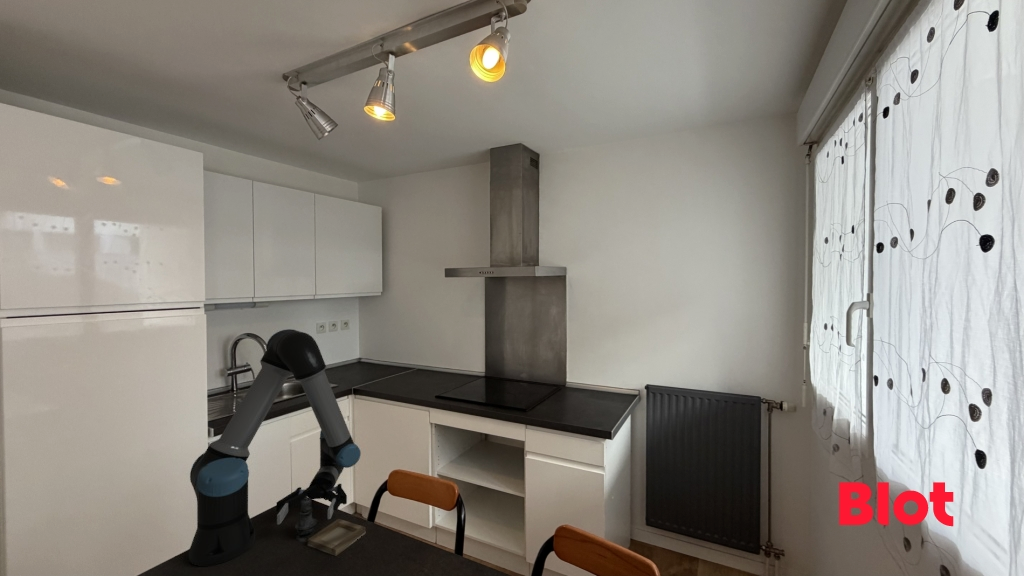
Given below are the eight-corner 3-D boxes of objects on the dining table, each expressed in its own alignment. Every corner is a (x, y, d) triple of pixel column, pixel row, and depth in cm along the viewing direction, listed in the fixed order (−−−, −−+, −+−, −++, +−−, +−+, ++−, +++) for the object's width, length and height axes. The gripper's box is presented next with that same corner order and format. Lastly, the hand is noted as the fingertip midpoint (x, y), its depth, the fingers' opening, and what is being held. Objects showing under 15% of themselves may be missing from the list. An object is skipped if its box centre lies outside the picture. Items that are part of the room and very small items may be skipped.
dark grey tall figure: (307, 543, 113) (307, 501, 113) (290, 540, 114) (290, 499, 114) (321, 530, 119) (321, 491, 119) (304, 528, 120) (304, 489, 120)
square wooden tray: (307, 545, 112) (307, 539, 112) (338, 524, 122) (338, 518, 122) (335, 556, 107) (335, 549, 107) (365, 533, 118) (365, 527, 118)
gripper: (362, 489, 137) (349, 524, 116) (284, 496, 132) (256, 535, 112) (362, 467, 137) (349, 499, 116) (284, 474, 132) (256, 509, 112)
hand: (304, 517), depth 114 cm, fingers open, 13 cm apart
